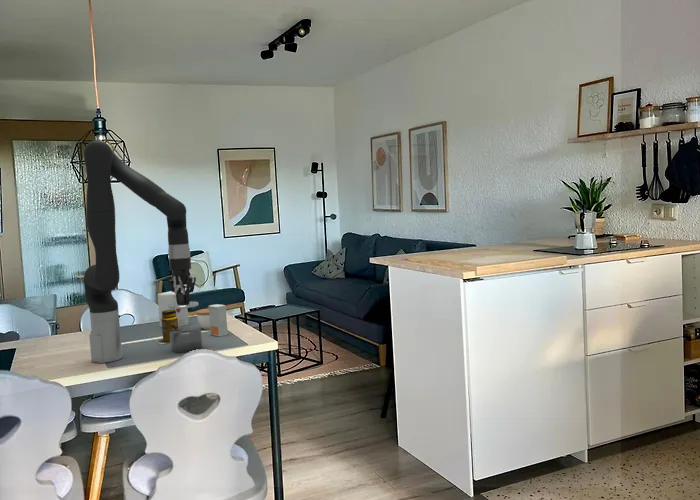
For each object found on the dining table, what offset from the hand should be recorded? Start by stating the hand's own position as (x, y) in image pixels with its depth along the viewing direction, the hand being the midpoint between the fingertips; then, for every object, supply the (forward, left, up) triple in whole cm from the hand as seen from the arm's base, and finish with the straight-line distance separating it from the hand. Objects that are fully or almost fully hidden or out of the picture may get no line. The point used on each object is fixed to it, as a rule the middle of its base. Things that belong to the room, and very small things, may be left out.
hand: (183, 304), depth 221 cm
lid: (0, 0, -1) cm, 1 cm away
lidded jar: (+30, +21, -17) cm, 40 cm away
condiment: (+6, +18, -17) cm, 25 cm away
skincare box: (+22, +7, -17) cm, 29 cm away
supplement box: (+27, +41, -17) cm, 52 cm away
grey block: (0, 0, -17) cm, 17 cm away
